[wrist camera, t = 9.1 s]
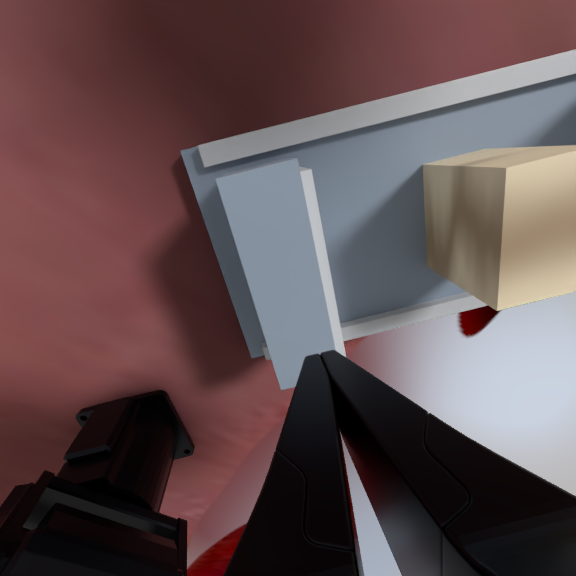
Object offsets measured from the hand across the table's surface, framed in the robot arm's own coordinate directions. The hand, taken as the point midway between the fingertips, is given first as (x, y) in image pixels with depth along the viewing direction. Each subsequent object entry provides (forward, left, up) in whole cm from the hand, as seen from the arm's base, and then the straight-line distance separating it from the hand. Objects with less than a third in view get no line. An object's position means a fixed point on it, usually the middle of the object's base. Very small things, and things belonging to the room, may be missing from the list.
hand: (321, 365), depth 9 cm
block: (0, -10, -10) cm, 14 cm away
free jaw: (0, 0, -10) cm, 10 cm away
